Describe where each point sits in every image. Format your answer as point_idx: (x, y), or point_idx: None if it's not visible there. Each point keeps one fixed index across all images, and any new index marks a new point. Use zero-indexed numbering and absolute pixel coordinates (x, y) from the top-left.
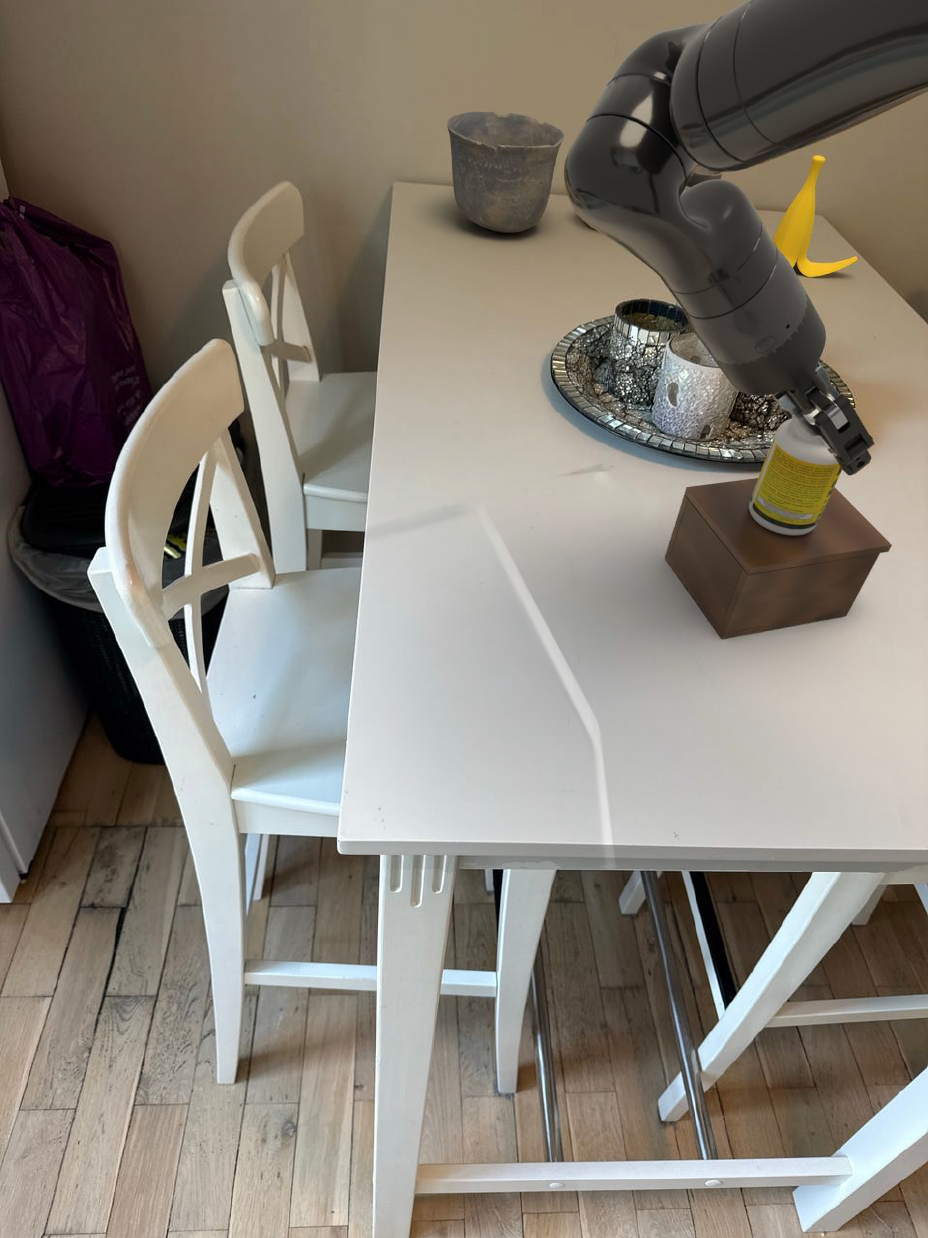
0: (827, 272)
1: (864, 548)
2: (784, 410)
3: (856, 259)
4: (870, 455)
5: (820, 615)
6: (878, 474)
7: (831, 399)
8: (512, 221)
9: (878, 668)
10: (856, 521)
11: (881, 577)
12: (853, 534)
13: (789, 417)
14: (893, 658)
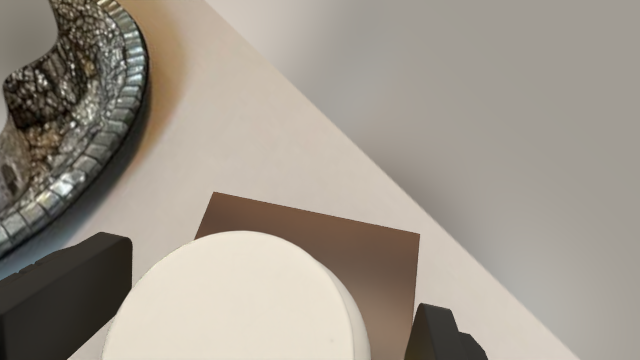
0: None
1: (413, 287)
2: (85, 340)
3: None
4: (451, 314)
5: None
6: (215, 65)
7: (190, 259)
8: None
9: (479, 325)
10: (349, 240)
11: (349, 192)
12: (375, 273)
13: (116, 313)
14: (469, 291)
